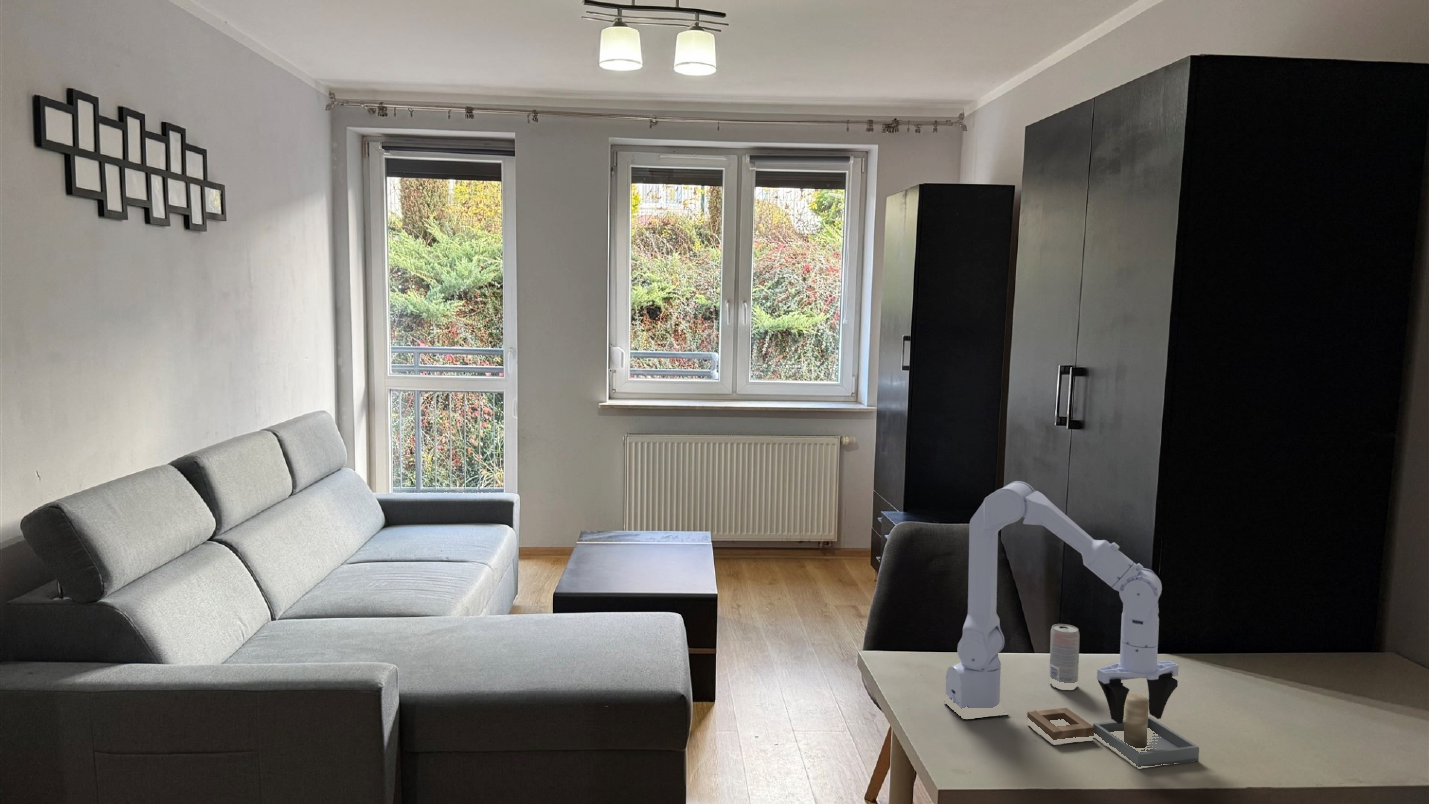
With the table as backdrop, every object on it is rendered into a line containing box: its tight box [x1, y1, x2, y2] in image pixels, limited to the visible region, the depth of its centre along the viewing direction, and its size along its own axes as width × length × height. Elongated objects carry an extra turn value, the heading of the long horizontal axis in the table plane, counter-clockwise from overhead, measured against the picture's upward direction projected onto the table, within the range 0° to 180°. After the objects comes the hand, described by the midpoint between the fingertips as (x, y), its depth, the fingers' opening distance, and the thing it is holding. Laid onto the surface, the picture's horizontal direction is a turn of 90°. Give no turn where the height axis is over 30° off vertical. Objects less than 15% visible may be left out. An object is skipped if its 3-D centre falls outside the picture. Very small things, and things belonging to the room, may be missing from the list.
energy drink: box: [1049, 623, 1080, 683], centre depth 176 cm, size 5×5×12 cm
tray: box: [1092, 716, 1200, 767], centre depth 150 cm, size 12×12×2 cm
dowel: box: [1123, 693, 1149, 748], centre depth 151 cm, size 4×4×8 cm
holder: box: [1026, 707, 1094, 740], centre depth 156 cm, size 8×8×2 cm
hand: (1136, 718), depth 151 cm, fingers open, 7 cm apart
